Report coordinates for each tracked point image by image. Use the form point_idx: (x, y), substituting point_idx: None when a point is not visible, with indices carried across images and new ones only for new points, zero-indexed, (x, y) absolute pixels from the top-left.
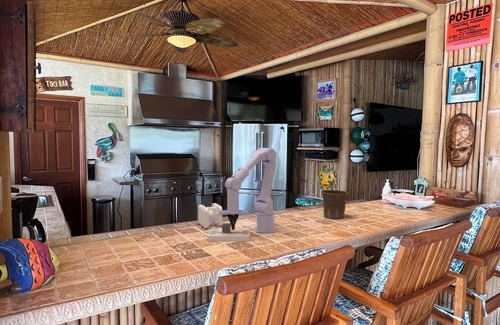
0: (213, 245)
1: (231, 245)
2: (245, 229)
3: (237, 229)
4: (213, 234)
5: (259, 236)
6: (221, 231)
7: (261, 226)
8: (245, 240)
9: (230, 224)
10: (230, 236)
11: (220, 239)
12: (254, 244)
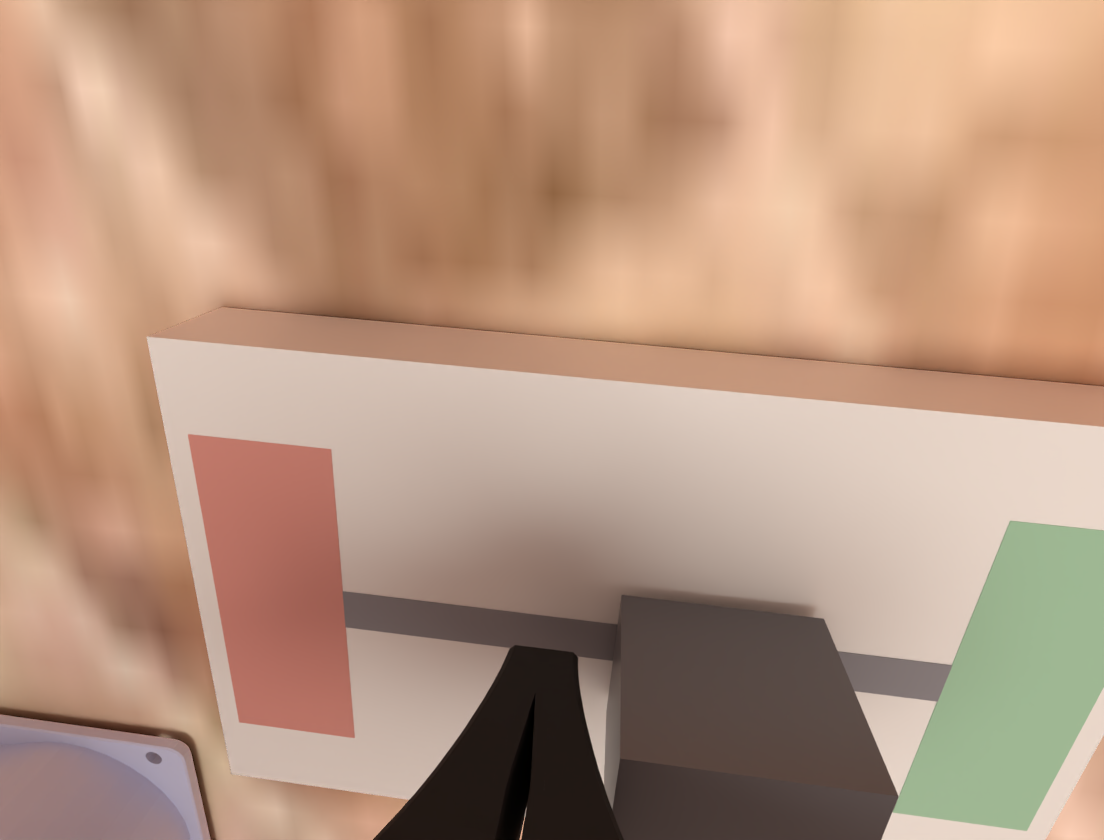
0: (1083, 25)
1: (602, 6)
2: (313, 768)
3: None
4: (1058, 543)
5: (98, 565)
6: None
7: (26, 832)
8: (295, 317)
9: None
10: (619, 378)
11: (858, 376)
12: (76, 68)
